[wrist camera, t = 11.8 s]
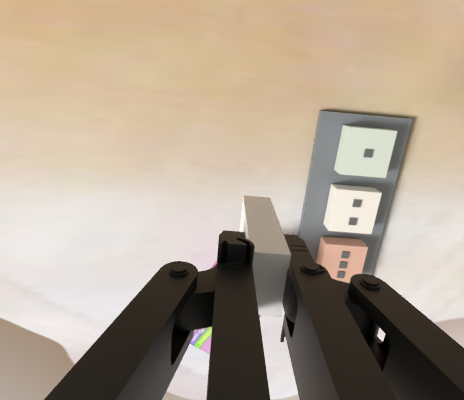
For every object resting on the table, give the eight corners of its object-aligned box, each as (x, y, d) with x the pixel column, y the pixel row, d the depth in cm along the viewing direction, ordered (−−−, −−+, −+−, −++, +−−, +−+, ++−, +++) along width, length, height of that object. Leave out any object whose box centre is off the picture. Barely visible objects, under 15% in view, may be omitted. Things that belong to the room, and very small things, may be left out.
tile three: (320, 236, 46) (326, 244, 43) (361, 239, 46) (368, 247, 44) (313, 271, 48) (318, 281, 45) (352, 274, 48) (359, 284, 46)
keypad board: (319, 110, 41) (321, 110, 40) (408, 118, 42) (412, 119, 41) (291, 274, 49) (292, 278, 48) (366, 280, 50) (369, 283, 49)
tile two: (331, 183, 43) (337, 189, 41) (373, 187, 44) (382, 193, 41) (323, 223, 45) (328, 231, 43) (364, 226, 46) (372, 234, 43)
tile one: (342, 124, 41) (350, 127, 38) (387, 129, 41) (398, 131, 38) (333, 169, 43) (340, 174, 40) (377, 173, 43) (386, 178, 40)
